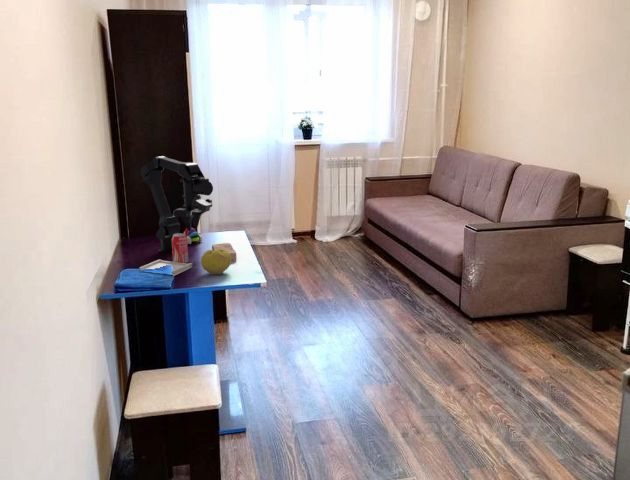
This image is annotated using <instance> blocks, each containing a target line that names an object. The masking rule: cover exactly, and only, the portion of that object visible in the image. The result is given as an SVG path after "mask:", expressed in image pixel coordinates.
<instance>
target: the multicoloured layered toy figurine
mask: <svg viewBox="0 0 630 480" xmlns="http://www.w3.org/2000/svg"><path fill="white" fill-rule="evenodd" d="M183 234H185V235H186V237H187V244H190V245H192V242H197V243H198V242H200V243H202V241H203V236H202V235H201V234H199V232H197V230H196V228H195V227H194V228H193V227H191V231H188V229H187V227H185V230H184V231H183Z"/></svg>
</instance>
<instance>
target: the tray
mask: <svg viewBox="0 0 630 480" xmlns="http://www.w3.org/2000/svg"><path fill="white" fill-rule="evenodd" d="M166 265H172V266H173V271H172V272H171V273H172V274H173V276H172V277H175V276H176V275H179V274H180V273H183V272H185V271H187V270H189V269H191V268H193V267H194V266H193V263H192V262H190V263H187V262H186V263H178V262H173V261H169V260H162V259H157V260H154V261H151V262H150V263H148V264H144V265H141V266H140V267H139V268H138V269H139V270H143V269H155V268H160V267H163V266H166ZM139 270H138V271H139Z"/></svg>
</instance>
